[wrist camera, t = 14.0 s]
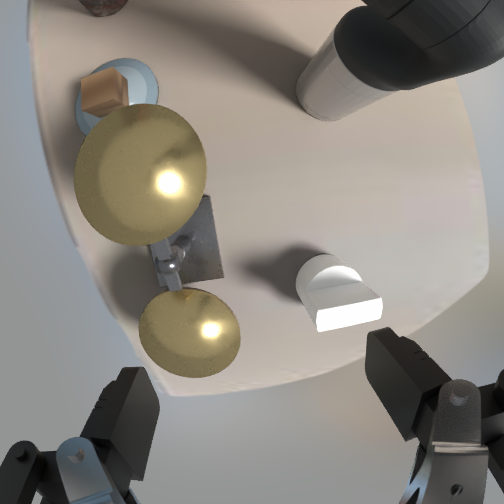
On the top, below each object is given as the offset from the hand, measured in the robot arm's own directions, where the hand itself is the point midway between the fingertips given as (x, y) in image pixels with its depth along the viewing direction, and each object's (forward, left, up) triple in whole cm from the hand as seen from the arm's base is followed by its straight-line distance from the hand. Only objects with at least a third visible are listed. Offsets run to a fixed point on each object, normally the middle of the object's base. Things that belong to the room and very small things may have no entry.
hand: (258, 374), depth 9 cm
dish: (-9, -26, -33) cm, 43 cm away
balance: (+6, -6, -33) cm, 34 cm away
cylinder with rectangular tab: (+2, +16, -33) cm, 37 cm away
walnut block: (-9, -26, -32) cm, 42 cm away
